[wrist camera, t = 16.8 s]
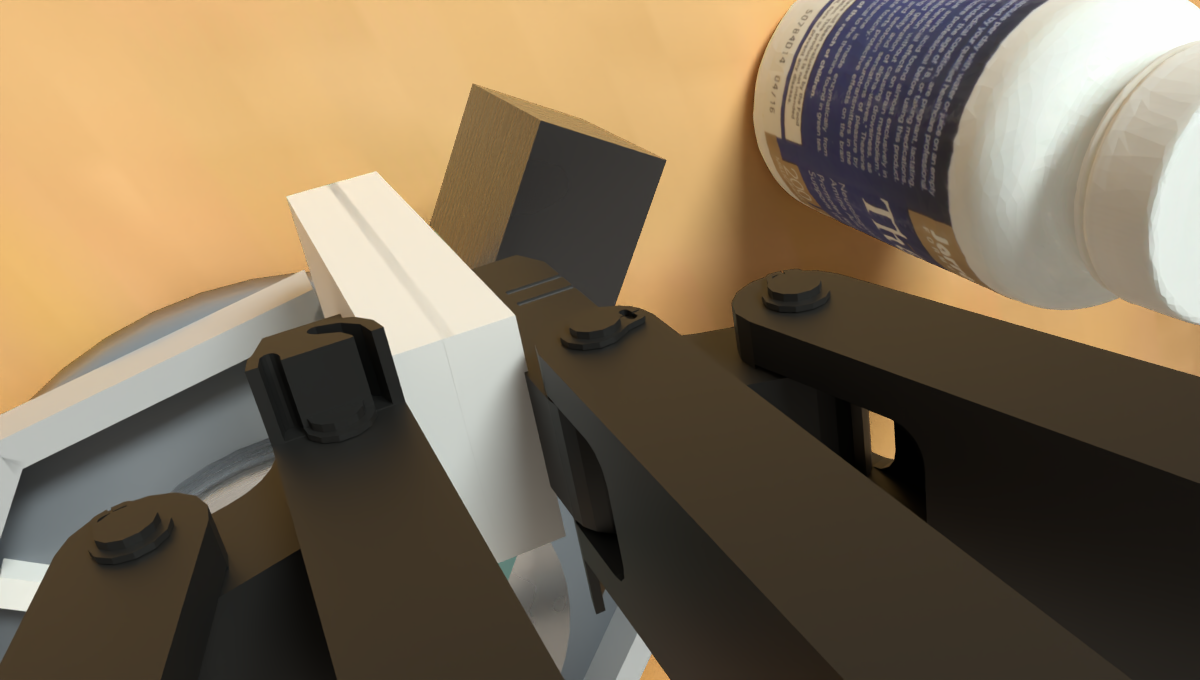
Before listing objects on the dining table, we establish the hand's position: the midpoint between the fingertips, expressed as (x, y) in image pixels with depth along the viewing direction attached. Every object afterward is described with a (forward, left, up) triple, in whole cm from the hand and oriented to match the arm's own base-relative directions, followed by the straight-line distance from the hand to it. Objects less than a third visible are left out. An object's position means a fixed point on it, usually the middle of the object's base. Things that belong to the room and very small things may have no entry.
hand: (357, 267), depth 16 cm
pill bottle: (-10, -6, -4) cm, 12 cm away
